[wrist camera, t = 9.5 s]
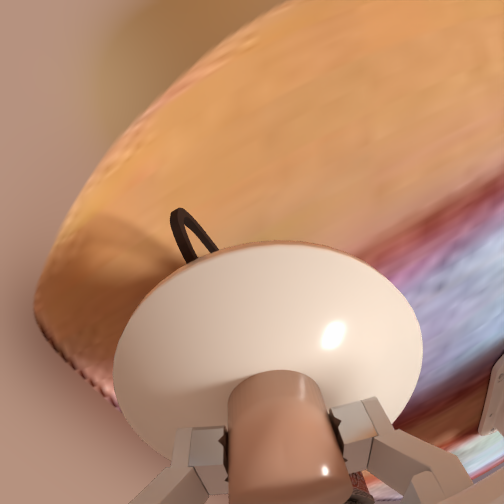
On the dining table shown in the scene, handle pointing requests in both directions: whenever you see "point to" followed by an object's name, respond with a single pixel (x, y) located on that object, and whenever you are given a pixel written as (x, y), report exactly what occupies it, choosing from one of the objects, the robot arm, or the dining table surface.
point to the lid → (268, 362)
